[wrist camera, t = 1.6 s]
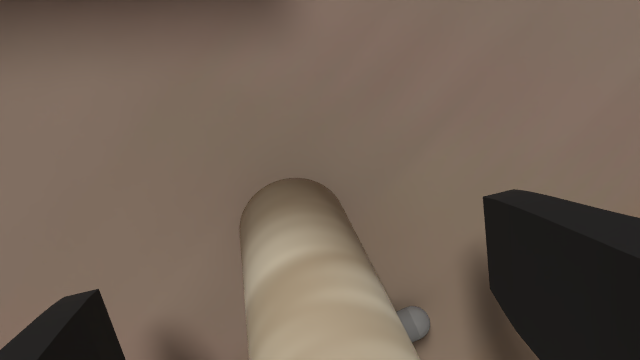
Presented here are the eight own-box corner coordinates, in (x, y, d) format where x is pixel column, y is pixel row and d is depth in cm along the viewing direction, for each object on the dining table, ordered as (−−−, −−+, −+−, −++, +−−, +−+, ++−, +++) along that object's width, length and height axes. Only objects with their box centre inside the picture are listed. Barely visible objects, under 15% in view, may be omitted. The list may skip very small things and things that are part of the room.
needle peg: (344, 173, 13) (532, 481, 5) (346, 268, 13) (507, 656, 6) (235, 182, 12) (259, 527, 5) (243, 280, 13) (275, 705, 6)
